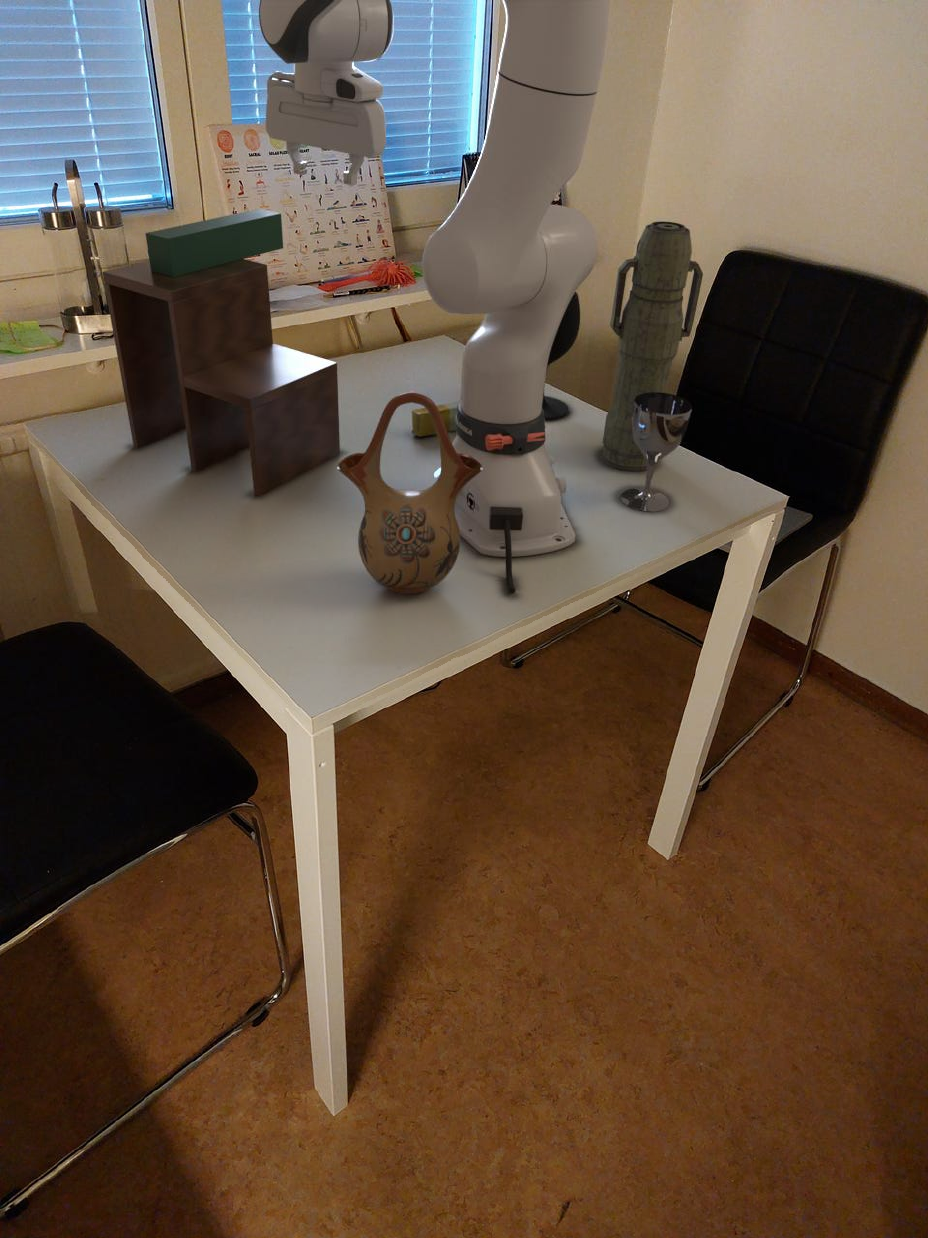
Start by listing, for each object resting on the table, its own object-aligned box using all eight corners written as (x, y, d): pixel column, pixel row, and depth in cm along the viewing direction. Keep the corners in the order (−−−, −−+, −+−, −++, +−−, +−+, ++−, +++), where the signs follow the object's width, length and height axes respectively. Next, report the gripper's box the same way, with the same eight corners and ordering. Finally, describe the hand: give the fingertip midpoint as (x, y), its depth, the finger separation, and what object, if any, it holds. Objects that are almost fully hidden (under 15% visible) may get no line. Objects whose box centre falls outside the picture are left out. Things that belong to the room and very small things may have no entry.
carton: (262, 243, 139) (259, 208, 136) (283, 248, 137) (281, 213, 134) (150, 271, 123) (145, 232, 121) (173, 277, 122) (168, 238, 119)
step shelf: (219, 410, 150) (200, 247, 135) (340, 453, 139) (334, 281, 124) (133, 446, 137) (101, 271, 122) (259, 496, 127) (241, 311, 111)
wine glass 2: (608, 489, 134) (624, 394, 125) (656, 484, 136) (674, 390, 127) (632, 515, 128) (650, 416, 119) (681, 509, 130) (703, 412, 121)
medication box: (472, 421, 152) (472, 398, 150) (481, 425, 150) (481, 402, 148) (411, 432, 146) (410, 408, 144) (419, 437, 144) (419, 413, 142)
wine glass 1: (540, 425, 152) (553, 306, 140) (497, 405, 158) (506, 289, 146) (581, 411, 158) (596, 295, 146) (538, 392, 164) (550, 280, 152)
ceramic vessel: (471, 565, 115) (483, 377, 100) (478, 606, 107) (492, 409, 93) (342, 566, 113) (335, 375, 98) (340, 608, 106) (333, 407, 91)
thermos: (584, 447, 145) (616, 217, 125) (653, 446, 147) (696, 218, 127) (599, 472, 138) (636, 232, 118) (672, 470, 140) (720, 233, 120)
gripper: (254, 70, 135) (259, 170, 144) (370, 90, 129) (368, 193, 137) (279, 67, 140) (282, 165, 148) (392, 86, 134) (389, 187, 142)
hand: (325, 179), depth 143 cm, fingers open, 8 cm apart
